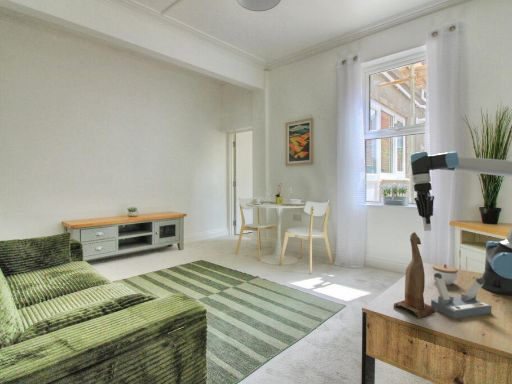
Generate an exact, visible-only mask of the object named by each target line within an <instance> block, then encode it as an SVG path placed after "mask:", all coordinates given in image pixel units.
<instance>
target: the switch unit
mask: <svg viewBox="0 0 512 384" xmlns="http://www.w3.org/2000/svg"><path fill="white" fill-rule="evenodd" d="M449 297H450V299H451V302H445V303H444V298H443V297H441V296H440V295H438V298H437V299H436V298H435V299H431V300H430V306H433V307H434V308H435V311H438V312H440V313H442V314H443V315H446V316H447V317H449V318H451V319H452V320H457V319H462V318H464V319H465V318H468V317H475V316H481V315H489V314H492V305H491V304H488V303H486V302H483V301H482V300H479V299H477V294H476V295H475V297H474V298H473V299H467V295H466V293H464V292H462V293H461V295H459V296H453V295H450V294H449Z"/></svg>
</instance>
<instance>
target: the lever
mask: <svg viewBox="0 0 512 384" xmlns="http://www.w3.org/2000/svg"><path fill="white" fill-rule="evenodd" d="M433 280H434V282H435V285H436V289H437V292H438V296H441V297H443V298H444V303H445V302H451V299H450V297H449V295H450V294H449V291H448V288H447V285H446V284H445V282H444V279H443V277H442V275H441V274H440V273H435V274H434V275H433Z"/></svg>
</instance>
